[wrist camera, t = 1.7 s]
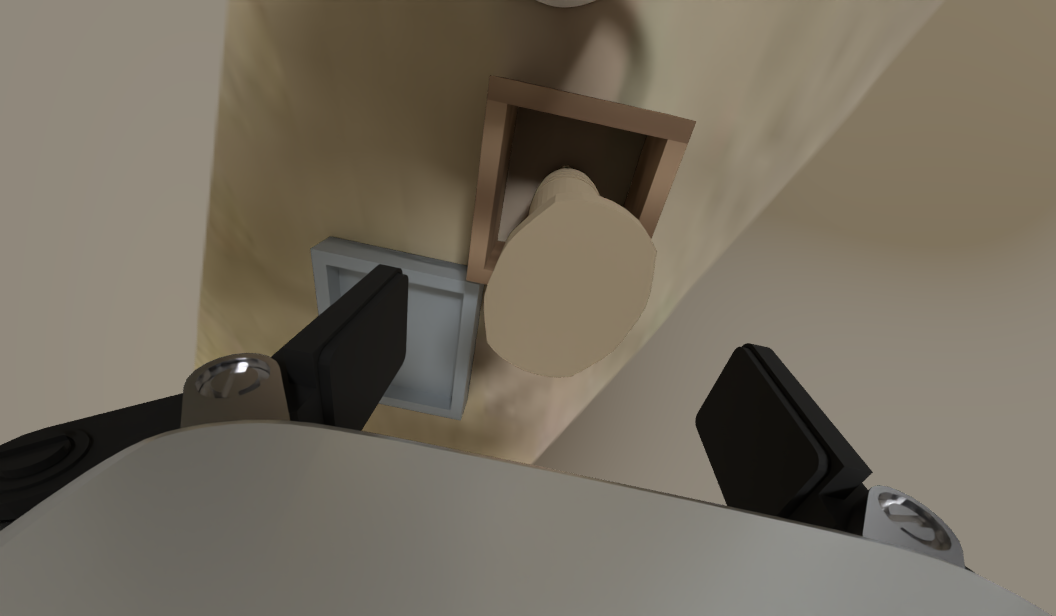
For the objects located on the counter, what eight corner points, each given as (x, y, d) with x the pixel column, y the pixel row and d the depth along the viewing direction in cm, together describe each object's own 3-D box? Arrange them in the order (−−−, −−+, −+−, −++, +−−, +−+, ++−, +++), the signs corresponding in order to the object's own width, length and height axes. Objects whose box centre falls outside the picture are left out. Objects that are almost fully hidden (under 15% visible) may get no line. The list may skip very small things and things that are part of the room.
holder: (505, 77, 22) (489, 75, 17) (671, 115, 22) (696, 121, 18) (482, 250, 27) (466, 280, 23) (614, 278, 28) (622, 313, 23)
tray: (330, 236, 28) (310, 248, 26) (486, 269, 28) (479, 284, 26) (343, 374, 35) (328, 393, 33) (467, 400, 35) (460, 420, 33)
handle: (623, 159, 23) (691, 246, 10) (575, 246, 27) (583, 394, 14) (554, 124, 23) (537, 171, 10) (514, 217, 26) (461, 344, 13)
